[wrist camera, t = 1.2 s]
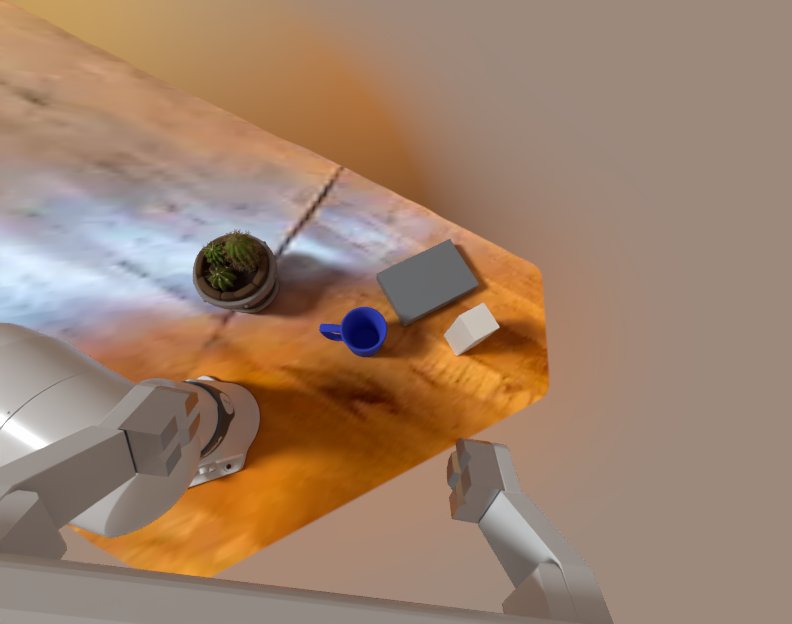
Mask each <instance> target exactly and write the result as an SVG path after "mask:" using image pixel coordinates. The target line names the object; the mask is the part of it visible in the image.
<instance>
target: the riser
mask: <svg viewBox="0 0 792 624" xmlns="http://www.w3.org/2000/svg"><path fill="white" fill-rule="evenodd" d="M377 281H378V283H379V285H380V286H381V288H382V290H383V292H384V293H385V295H386V297H387V299H388V300H389V302H390V304H391V306H392V307H393V309H394V311H395V313H396V314H397V316H398V318H399V320H400V321H401V323H402V325H403V327H404V326H406V325H408V324H410V323H412V322H414V321H416V320H418V319H420V318H422V317H424V316H426V315H428V314H430V313H431V312H433V311H435V310H437V309H439V308H441V307H443V306H445V305H447V304H449V303H451V302H453V301H455V300H456V299H458V298H460V297H462V296H464V295H466V294H468V293H470V292H472V291H474V290H476V288H477V287H478V286H479V283H478V281H477V280H476V278H475V277H474V275H473V274H472V272H471V271H470V269H469V267H468V266H467V264H466V263H465V261H464V260H463V258H462V257H461V255H460V254H459V252H458V251H457V249H456V248H455V246H454V245H453V243H452V242H451V240H450V239H449V240H447V241H444V242H442V243H440V244H438V245H436V246H434V247H432V248H430V249H428V250H426V251H424V252H421V253H419V254H417V255H415V256H413V257H411V258H409V259H407V260H405V261H403V262H400V263H398V264H396V265H394V266H392V267H390V268H388V269H386V270H384V271H382V272H380V273H377Z"/></svg>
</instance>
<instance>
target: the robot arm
mask: <svg viewBox="0 0 792 624" xmlns="http://www.w3.org/2000/svg"><path fill="white" fill-rule="evenodd" d="M259 422H260V413H259V407H258V404H257V402H256V400H255V398H254V397H253V395H252V394H251V393H250V392H249V391H248V390H247V389H245V388H244V387H242V386H240V385H237V384H234V383H227V382H219V381H217V380H216V379H214V378H212V377H210V376H201V377H199V378H198V379H189V380H187V381H183V382H179V381H174V380H169V379H164V378H152V379H147V380H143V381H141V382H138V383H134V382H132V381H130V380H128V379H127V378H125V377H123V376H122V375H120V374H118V373H117V372H114V371H112V370H110V369H109V368H107V367H105V366H104V365H102V364H101V363H99V362H98V361H96V360H95V359H93V358H91V357H90V356H88V355H87V354H85V353H84V352H82V351H81V350H79V349H77V348H76V347H74V346H73V345H71V344H70V343H68V342H66V341H64V340H62V339H59V338H56V337H54V336H51V335H48V334H46V333H43V332H40V331H37V330H34V329H31V328H28V327H25V326H22V325H18V324H12V323H0V624H613V621H612V618H611V616H610V613H609V611H608V609H607V606H606V603H605V601H604V598H603V596H602V594H601V591H600V588H599V586H598V583H597V581H596V578H595V576H594V573H593V571H592V569H591V567H590V566H589V565H588V564H587V563H586V562H585V560H583V558H582V557H581V556H580V555H579V554H578V552H577V551H576V550H575V549H574V548H573V547H572V545H571V544H570V543H569V542H568V541H567V540H566V539H565V537H564V536H563V535H562V534H561V533H560V532H559V531H558V529H557V528H556V527H555V526H554V525H553V524H552V523H551V521H550V520H549V519H548V518H547V517H546V516H545V515H544V513H543V512H542V511H541V510H540V509H539V508H538V507H537V505H536V504H535V503H534V502H533V501H532V500H531V499H530V497H529V496H528V495H527V494H523V493H522V490H521V487H520V484H519V481H518V478H517V474H516V471H515V468H514V465H513V461H512V458H511V455H510V451H509V448H508V447H507V446H506V445H503V444H497V443H490V442H487V441H480V440H474V439H468V438H462V437H461V438H460V439H458V441H457V443H456V449H457V451H455V452H453V453H451V456H450V458H449V461H448V466H447V482H448V485H449V486H450V487H451V489H452V490H453V491H452V493H451V495H450V497H449V500H450V508H451V516H452V519H455V520H460V521H466V522H472V523H477V524H478V526H479V528H480V529H481V531H482V533H483V535H484V536H485V538H486V539H487V541H488V543H489V544H490V546H491V548H492V549H493V551H494V553H495V555H496V556H497V558H498V560H499V561H500V563H501V564H502V566H503V568H504V570H505V571H506V573H507V575H508V576H509V578H510V580H511V581H512V583H513V585H514V586H515V588H516V589H515V590H514V591H513V592H512V593H511V594H510V595H509V596H508V598H507V599H506V600H505V601H504V602H503V604H502V606H503V611H504V614H502V613H494V612H485V611H477V610H469V609H461V608H453V607H444V606H437V605H428V604H420V603H412V602H404V601H395V600H387V599H379V598H371V597H363V596H354V595H345V594H338V593H330V592H322V591H313V590H305V589H296V588H289V587H280V586H273V585H264V584H256V583H248V582H239V581H231V580H222V579H215V578H207V577H199V576H190V575H182V574H174V573H166V572H157V571H149V570H141V569H133V568H124V567H116V566H108V565H100V564H91V563H83V562H75V561H67V560H60V559H61V558H62V556H63V555H64V554H65V552H66V551H67V547H66V543H65V541H64V540H63V538H62V536H61V534H60V533H59V531H58V529H60V528H61V527H63V526H64V525H66V524H67V523H68V524H71V525H73V526H76V527H79V528H81V529H84V530H87V531H90V532H93V533H96V534H99V535H102V536H105V537H109V538H114V537H119V536H122V535H126V534H129V533H131V532H134V531H136V530H139V529H141V528H143V527H145V526H147V525H149V524H150V523H152V522H154V521H155V520H157V519H158V518H160V517H161V516H162V515H164V514H165V513H166V512H167V511H168V510H170V509H171V508H172V507H173V506H174V505H175V504H176V503H177V502H178V501H179V499H180V498H181V497H182V496H183V495H184V493H185V492H186V490H187V489H188V488H190V487H193V486H196V485H199V484H202V483H205V482H208V481H211V480H214V479H217V478H220V477H223V476H226V475H228V474H231V473H234V472H237V471H240V470H241V469H242V468H243V466H244V463H245V459H246V454H247V450H248V448H249V447H250V445H251V443H252V442H253V440H254V438H255V436H256V434H257V431H258V428H259ZM229 464H230V465H231V468H230V469H229V468H228V465H229Z"/></svg>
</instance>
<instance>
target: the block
mask: <svg viewBox="0 0 792 624" xmlns="http://www.w3.org/2000/svg"><path fill="white" fill-rule="evenodd" d="M498 328H500V327H499V325H498V324H497V322H496V321H495V319H494V317H493V316H492V314H491V313H490V311H489V310H488V308H487V307H486V305H485V304H484V303H482V304H480V305H478V306H476V307H474V308H472V309H471V310H469V311H467V312H465V313H463V314H461V315H459V317H458V318H457V319H456V320H455V322H454V323H453V324H452V326H451V327H450V328H449V329H448V331H447V332H446V333H445V335H444V337H445V338H446V340H447V342H448V343H449V345H450V347H451V348H452V350H453V352H454V353H455V355H456V356H458V355H460V354H462V353H464V352H465V351H467V350H469V349H471V348H473V347H474V346H476V345H478V344H479V343H480V342H482V341H483V340H484V339H485V338H487V337H488V336H489V335H491V334H492V333H493V332H495V331H496V330H497V329H498Z"/></svg>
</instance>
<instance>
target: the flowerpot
mask: <svg viewBox="0 0 792 624" xmlns="http://www.w3.org/2000/svg"><path fill="white" fill-rule="evenodd" d="M233 232H234V233H233V234H232V232H231V233H230V234H228V235H227V233H226V235H224V236H221V237H218V238H216V239H214V240H213V241H211V242H210V243H209V244H208V243H207V244H208V245H207V246H206V247H204V246H203V247H204V248H202V250H201V251H200V252H199V254H198V255H197V257H196V260H195V263H194V267H193V283H194V285H195V287H196V290H197V292H198V293H199V295H200V296H201V297H202V298H203V301H204V302H208V303H210V304H212V305H214V306H217V307H220V308H224V309H231V310H233V311H237V312H242V313H254V312H259V311H260V310H262V309H264V308H265V307H267V306H268V305H269V304H270V303H271V302H272V301H273V300H274V298H275V297H276V295H277V292H278V291H279V281H278V276H277V266H276V260H275V257H274V255H273V253H272V251H271V250H270V248H269V247H268V246H267V245H266V242H263V241H261V240H260V239H258V238H256V237H253V236H250V235H249V233H248V234H247V233H245V234H244V233H243V232H242V233H243V234H238V233H237V232H235V231H233ZM238 232H239V233H240V230H239V231H238ZM248 232H249V231H248ZM235 233H236V234H235Z"/></svg>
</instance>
